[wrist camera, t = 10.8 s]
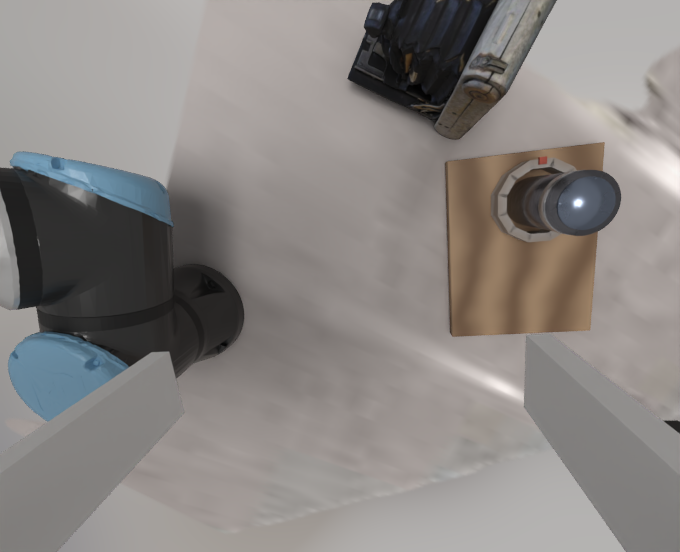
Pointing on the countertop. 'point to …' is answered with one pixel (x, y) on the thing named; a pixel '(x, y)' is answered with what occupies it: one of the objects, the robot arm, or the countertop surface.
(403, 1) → the vintage camera
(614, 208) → the lens
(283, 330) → the countertop surface
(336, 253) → the countertop surface
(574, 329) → the mount board
